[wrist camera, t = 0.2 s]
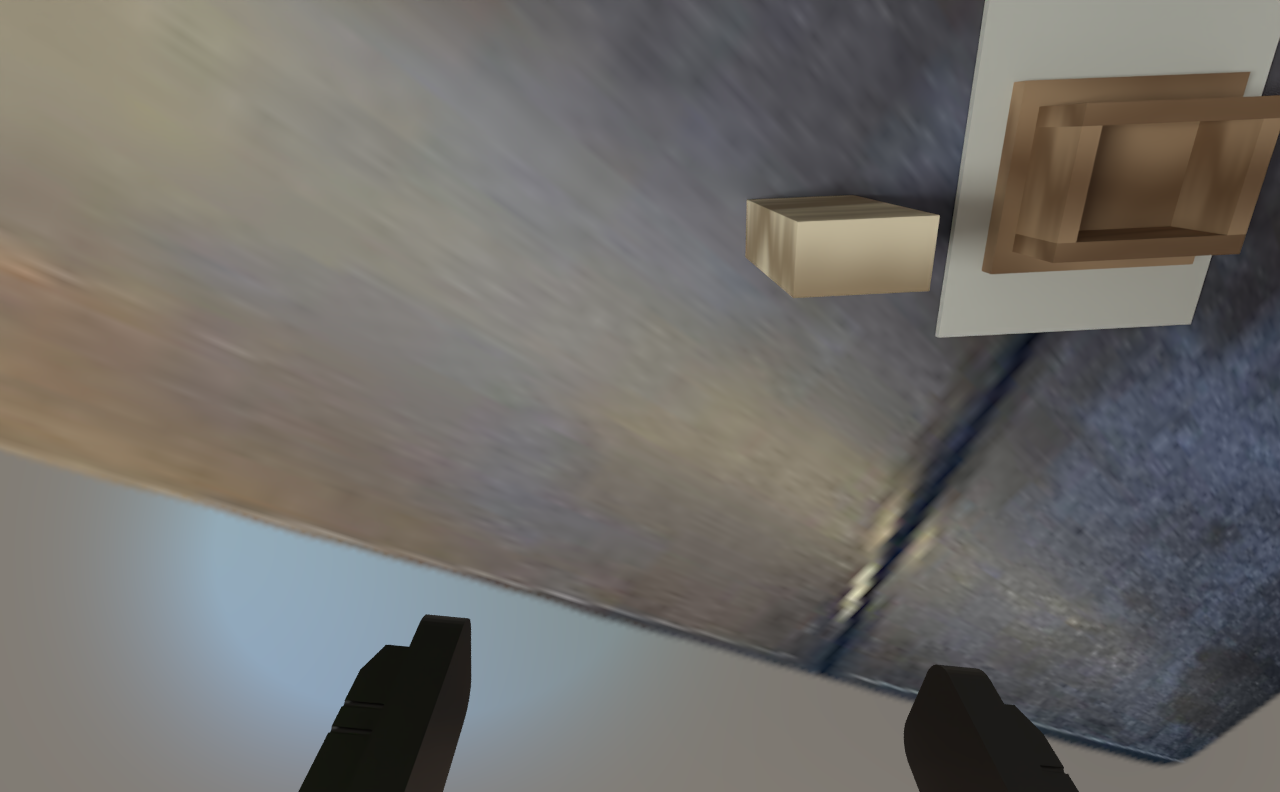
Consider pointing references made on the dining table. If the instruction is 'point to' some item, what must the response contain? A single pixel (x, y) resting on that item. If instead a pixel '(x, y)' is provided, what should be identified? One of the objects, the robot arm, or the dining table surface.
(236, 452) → the dining table surface
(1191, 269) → the mat
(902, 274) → the beech block
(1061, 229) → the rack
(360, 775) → the robot arm
